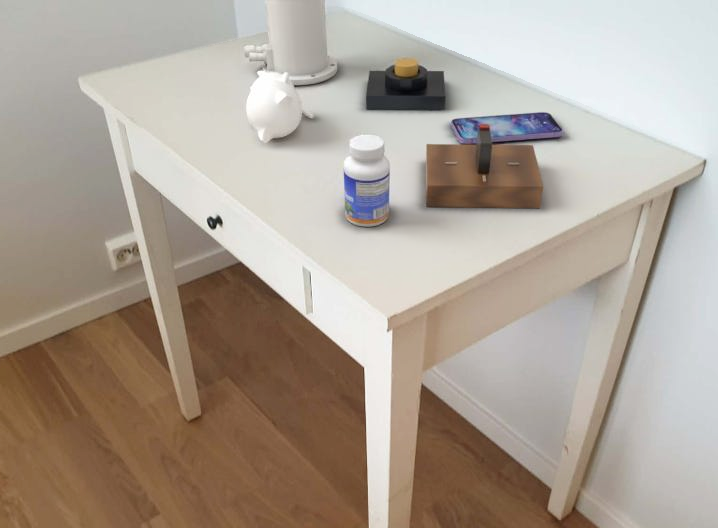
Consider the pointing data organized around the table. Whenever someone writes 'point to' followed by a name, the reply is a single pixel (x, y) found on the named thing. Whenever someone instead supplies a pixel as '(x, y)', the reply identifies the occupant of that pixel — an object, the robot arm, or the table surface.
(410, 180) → the table surface
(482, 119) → the smartphone
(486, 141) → the lock knob
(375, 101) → the black stepped base
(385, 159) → the pill bottle
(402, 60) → the bell button
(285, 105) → the cat figurine
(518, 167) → the plate
